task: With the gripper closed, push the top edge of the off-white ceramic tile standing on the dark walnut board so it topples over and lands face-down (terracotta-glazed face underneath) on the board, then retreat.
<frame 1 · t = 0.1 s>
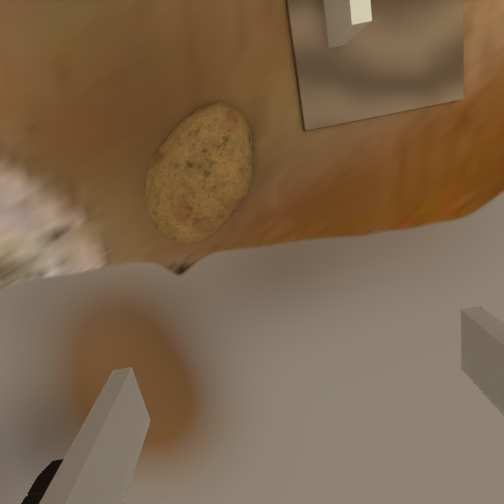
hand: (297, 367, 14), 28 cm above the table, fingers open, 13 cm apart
potato: (206, 169, 39), on the table
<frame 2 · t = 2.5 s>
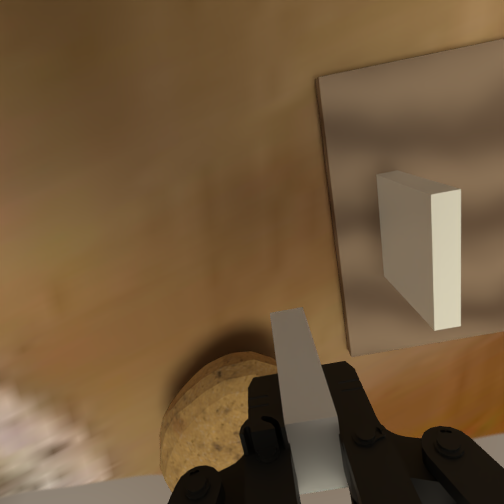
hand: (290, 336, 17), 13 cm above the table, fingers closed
tile: (390, 225, 27), point 1 cm above the table, touching board
board: (436, 212, 28), on the table
potato: (230, 386, 33), on the table
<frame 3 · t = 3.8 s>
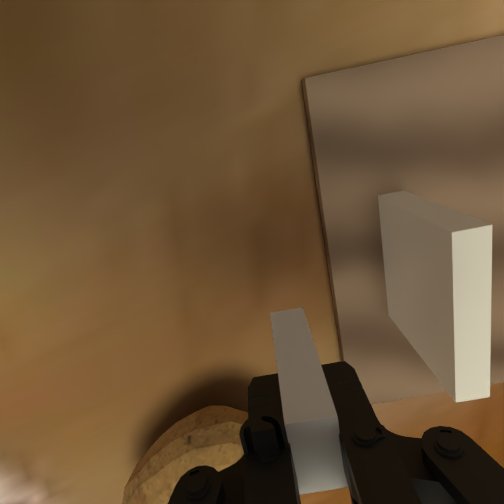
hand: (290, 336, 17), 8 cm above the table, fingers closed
tile: (395, 256, 22), point 1 cm above the table, touching board
board: (450, 238, 23), on the table
potato: (210, 438, 29), on the table
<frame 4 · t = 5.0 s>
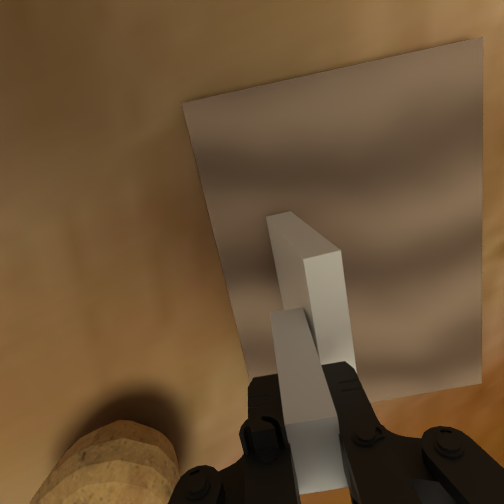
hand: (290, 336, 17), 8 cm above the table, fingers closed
tile: (289, 275, 23), point 1 cm above the table, tilted 7°, touching board, gripper
board: (347, 256, 24), on the table
potato: (129, 450, 29), on the table
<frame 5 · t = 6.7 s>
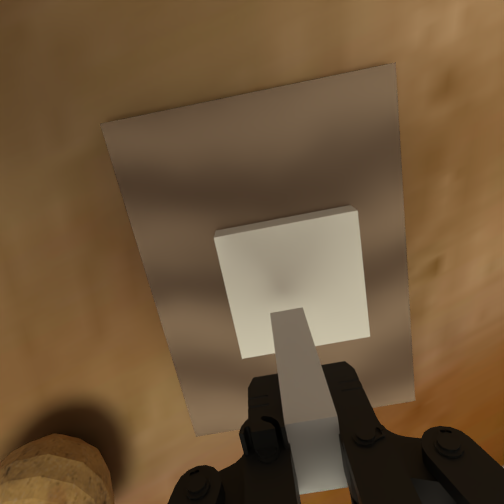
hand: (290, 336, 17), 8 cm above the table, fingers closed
tile: (229, 296, 22), point 2 cm above the table, tilted 90°, touching board
board: (277, 274, 24), on the table
potato: (70, 463, 29), on the table
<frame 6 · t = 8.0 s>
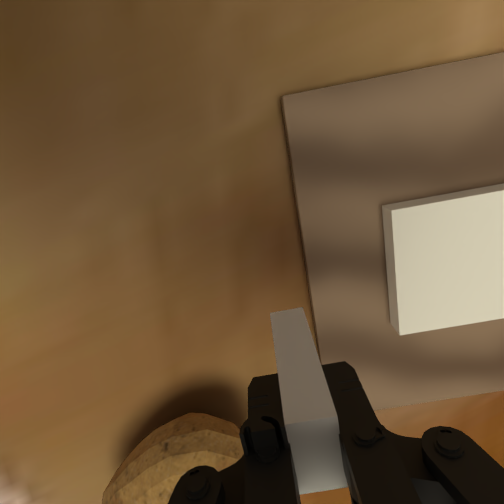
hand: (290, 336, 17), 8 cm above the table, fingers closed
tile: (390, 271, 22), point 2 cm above the table, tilted 90°, touching board
board: (426, 252, 24), on the table
potato: (191, 445, 29), on the table
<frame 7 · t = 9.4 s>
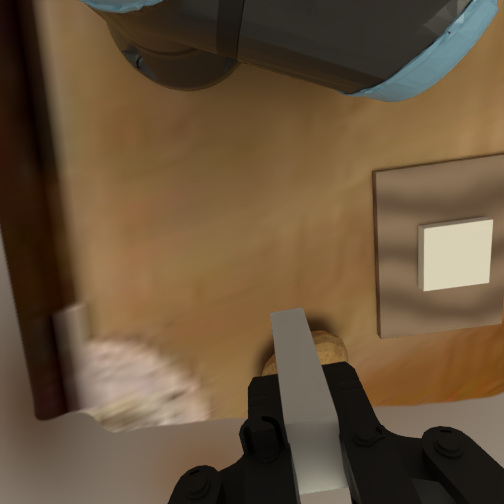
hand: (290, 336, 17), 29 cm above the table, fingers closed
tile: (421, 258, 44), point 2 cm above the table, tilted 90°, touching board
board: (438, 250, 46), on the table
potato: (299, 356, 50), on the table
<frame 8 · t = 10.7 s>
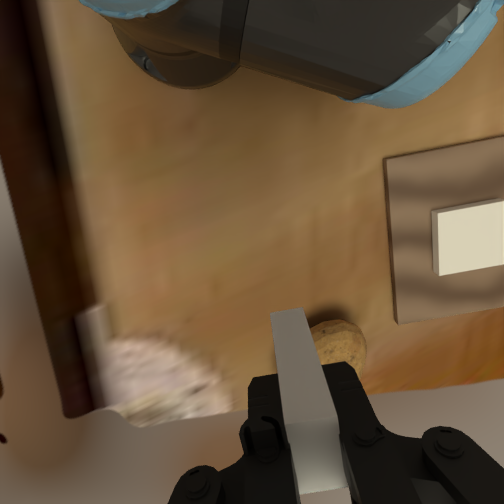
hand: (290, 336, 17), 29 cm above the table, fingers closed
tile: (435, 243, 44), point 2 cm above the table, tilted 90°, touching board
board: (452, 234, 46), on the table
potato: (317, 345, 51), on the table
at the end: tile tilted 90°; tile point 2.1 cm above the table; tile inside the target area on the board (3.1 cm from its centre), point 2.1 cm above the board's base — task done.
